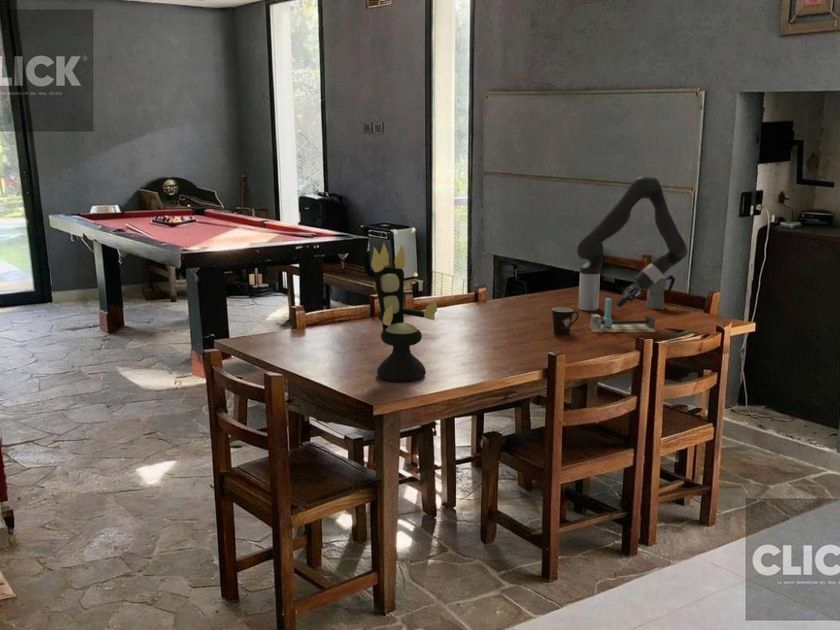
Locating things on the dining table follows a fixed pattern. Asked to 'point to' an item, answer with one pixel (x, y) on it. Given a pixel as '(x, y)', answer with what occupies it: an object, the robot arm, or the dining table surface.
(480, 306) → the dining table surface
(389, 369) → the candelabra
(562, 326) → the coffee mug
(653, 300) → the coffeepot
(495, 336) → the dining table surface
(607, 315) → the teal upright slider
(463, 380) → the dining table surface
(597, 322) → the cord board
